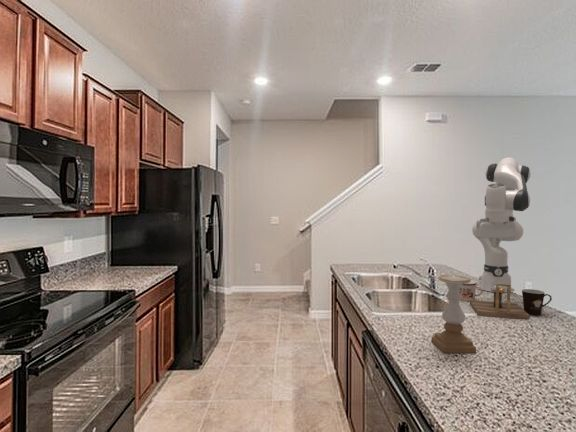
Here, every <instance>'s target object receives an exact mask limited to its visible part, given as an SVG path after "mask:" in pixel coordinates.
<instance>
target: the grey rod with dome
mask: <svg viewBox="0 0 576 432" xmlns="http://www.w3.org/2000/svg"><path fill="white" fill-rule="evenodd" d="M491 284H492V285H491V291H494V292H496V283H495V282H492V283H491ZM494 292H493V293H494ZM499 292H500V293H502V294H504V293H503V292H505V286H499ZM505 293H506V292H505Z"/></svg>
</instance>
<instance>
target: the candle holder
mask: <svg viewBox="0 0 576 432" xmlns="http://www.w3.org/2000/svg"><path fill="white" fill-rule="evenodd" d="M437 278H438V281H440V282H442V283H443V282H444V283H445V285H446V287H447V288H448V291H447V293H446V295H445V297H446V299H447V301H448V303H447V305H446V307H445V309H444V310H443V311H442V314H441V318H442V320H443V321H445V323H444V325H443V328H444V330H443V331H442V332H435V333H434V334H433V336H431V343H432V344H433V345H434V346H435V347H436V348H438V349H439V350H440V351H441V352H442V353H444V354H476V353H477V347H476V346H475V345H474V342H473V341H472V340H471V339H469V338H468V336H466V335H465V334H464V333H463V331H464V327H463V323H464V322H465V320H466V315H465V312H464V311H463V309H462V307H461V305H460V303H461V298H462V296H461V294H460V288H461V287H462V285H463V284H465V283H470V281H471V280H472V279H471V278H470V277H469V276H466V277H465V276H462V275H454V274H453V275H452V274H447V275H446V274H444V275H439V276H438V277H437Z"/></svg>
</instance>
